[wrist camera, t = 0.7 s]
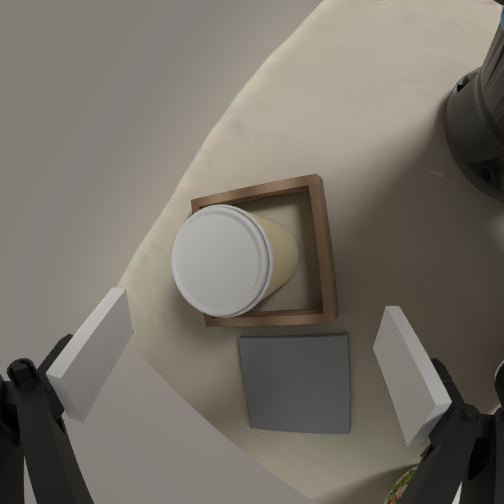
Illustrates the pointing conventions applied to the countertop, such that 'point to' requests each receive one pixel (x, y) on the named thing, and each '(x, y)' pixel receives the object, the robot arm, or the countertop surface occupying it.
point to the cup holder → (323, 249)
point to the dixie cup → (500, 382)
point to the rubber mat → (297, 382)
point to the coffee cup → (231, 259)
